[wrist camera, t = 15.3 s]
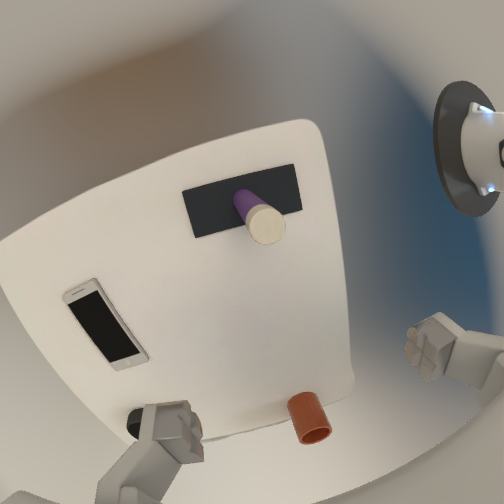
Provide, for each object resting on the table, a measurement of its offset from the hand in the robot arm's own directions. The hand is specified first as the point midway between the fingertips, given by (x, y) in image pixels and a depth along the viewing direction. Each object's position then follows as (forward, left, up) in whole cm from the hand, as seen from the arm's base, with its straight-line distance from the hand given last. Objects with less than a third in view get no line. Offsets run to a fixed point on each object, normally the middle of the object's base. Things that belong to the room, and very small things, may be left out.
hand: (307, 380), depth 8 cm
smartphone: (+23, +11, -27) cm, 37 cm away
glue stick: (-2, -2, -27) cm, 27 cm away
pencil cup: (-4, +39, -27) cm, 48 cm away
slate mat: (-2, -2, -27) cm, 27 cm away
